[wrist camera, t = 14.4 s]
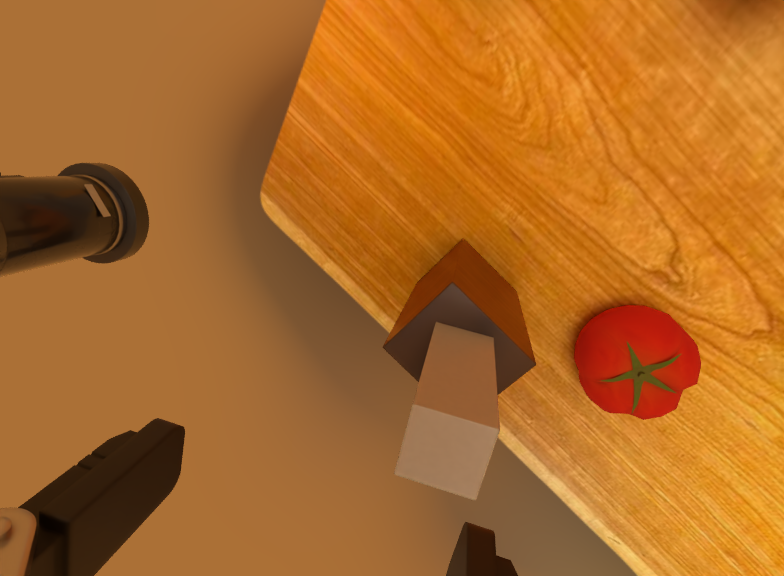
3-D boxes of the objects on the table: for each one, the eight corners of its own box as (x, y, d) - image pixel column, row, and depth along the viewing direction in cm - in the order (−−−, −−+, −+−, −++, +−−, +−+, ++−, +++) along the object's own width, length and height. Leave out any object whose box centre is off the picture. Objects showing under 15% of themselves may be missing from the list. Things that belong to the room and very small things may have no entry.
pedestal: (416, 282, 49) (382, 347, 32) (463, 237, 47) (452, 281, 30) (468, 333, 49) (461, 424, 32) (516, 291, 47) (536, 364, 30)
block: (422, 372, 32) (393, 474, 21) (436, 321, 31) (412, 403, 20) (477, 388, 31) (475, 501, 21) (493, 337, 30) (500, 429, 20)
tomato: (628, 275, 45) (656, 297, 37) (702, 352, 45) (743, 387, 38) (544, 342, 48) (554, 373, 41) (613, 412, 49) (636, 455, 42)
